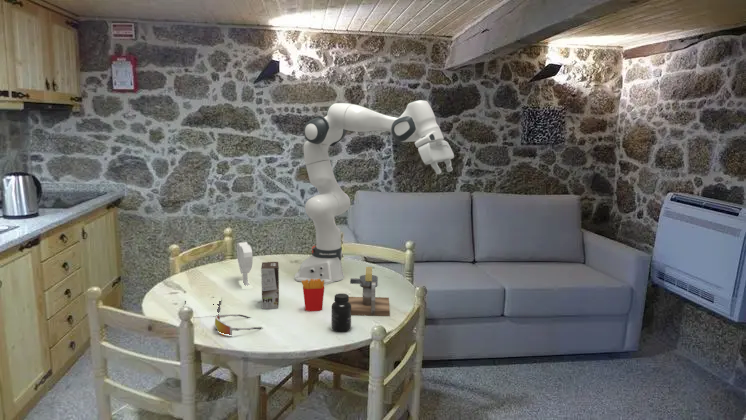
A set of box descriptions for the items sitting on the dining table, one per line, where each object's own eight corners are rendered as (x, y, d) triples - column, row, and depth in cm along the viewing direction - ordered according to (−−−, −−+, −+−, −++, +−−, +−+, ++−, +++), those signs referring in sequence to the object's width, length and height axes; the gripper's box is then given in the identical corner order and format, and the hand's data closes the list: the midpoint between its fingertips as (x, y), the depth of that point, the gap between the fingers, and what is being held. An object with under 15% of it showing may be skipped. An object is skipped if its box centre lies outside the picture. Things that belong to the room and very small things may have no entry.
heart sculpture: (236, 279, 222) (234, 240, 219) (247, 278, 224) (246, 239, 221) (243, 290, 208) (241, 249, 205) (255, 289, 210) (254, 248, 207)
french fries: (324, 307, 192) (324, 277, 190) (324, 310, 188) (324, 280, 186) (301, 307, 190) (301, 277, 188) (301, 311, 187) (301, 281, 184)
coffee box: (278, 308, 189) (278, 267, 186) (261, 309, 188) (260, 268, 185) (279, 300, 198) (278, 261, 195) (262, 300, 197) (262, 261, 194)
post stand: (389, 316, 184) (390, 285, 182) (346, 315, 184) (346, 284, 182) (388, 302, 198) (389, 273, 196) (348, 301, 198) (348, 272, 196)
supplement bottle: (353, 331, 170) (353, 298, 168) (333, 333, 168) (333, 300, 166) (348, 323, 177) (348, 291, 174) (329, 325, 175) (329, 293, 172)
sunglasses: (208, 325, 173) (209, 311, 173) (249, 322, 182) (251, 309, 181) (221, 340, 162) (223, 326, 161) (264, 336, 170) (266, 322, 170)
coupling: (377, 289, 185) (377, 274, 184) (349, 288, 185) (349, 273, 184) (377, 281, 194) (377, 266, 193) (350, 281, 194) (351, 266, 193)
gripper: (437, 141, 201) (449, 172, 200) (412, 143, 184) (426, 178, 183) (450, 134, 197) (463, 166, 196) (426, 136, 181) (440, 171, 180)
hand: (445, 172), depth 190 cm, fingers open, 8 cm apart
